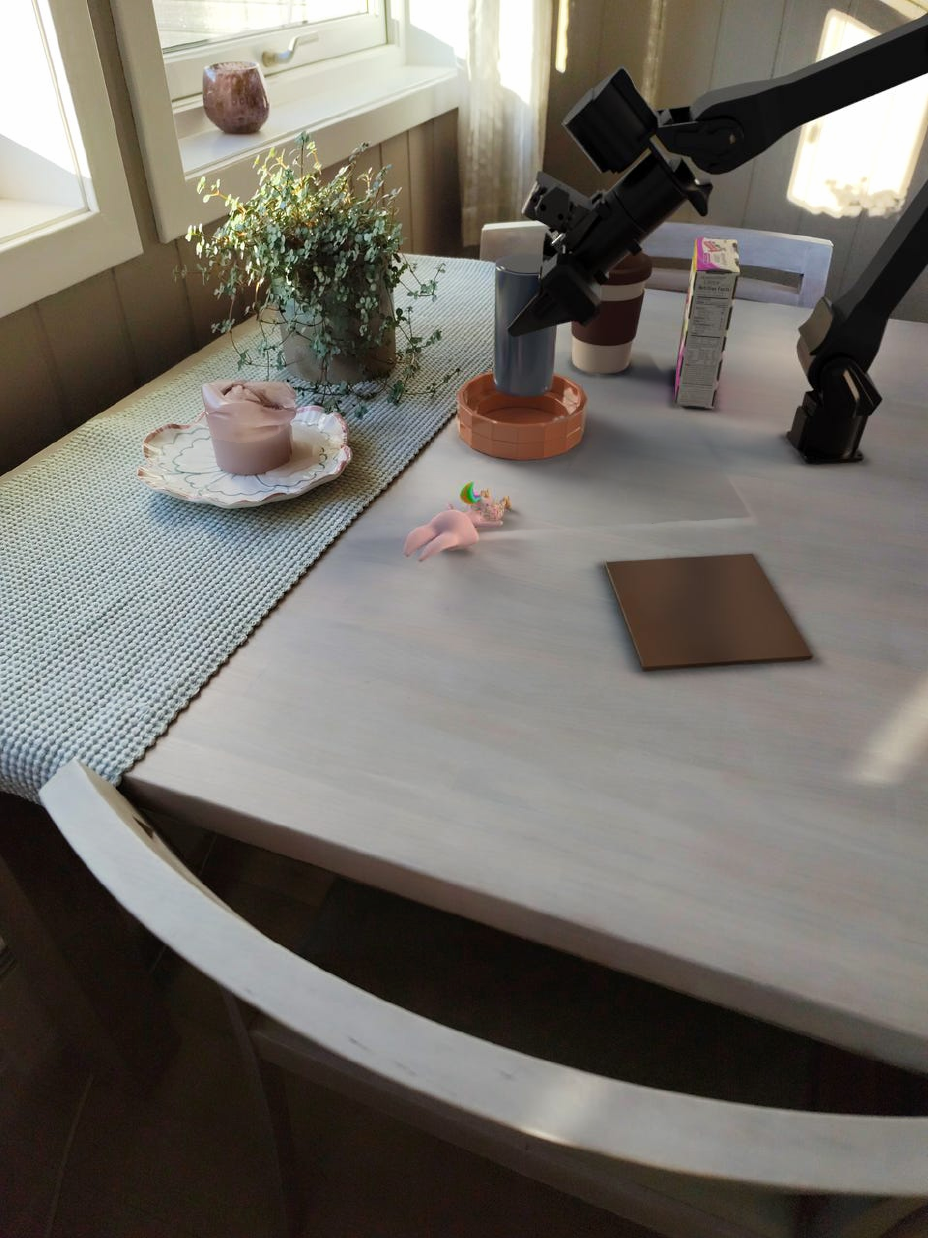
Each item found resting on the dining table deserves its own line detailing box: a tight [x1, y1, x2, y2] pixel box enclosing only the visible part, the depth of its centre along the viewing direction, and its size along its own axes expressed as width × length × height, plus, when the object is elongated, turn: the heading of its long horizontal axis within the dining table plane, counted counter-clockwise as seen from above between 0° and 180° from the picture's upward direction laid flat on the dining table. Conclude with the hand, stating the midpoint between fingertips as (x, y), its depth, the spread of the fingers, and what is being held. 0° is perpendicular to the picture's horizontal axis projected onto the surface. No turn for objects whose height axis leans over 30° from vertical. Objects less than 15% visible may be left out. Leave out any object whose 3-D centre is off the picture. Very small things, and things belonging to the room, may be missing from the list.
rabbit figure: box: [404, 481, 512, 563], centre depth 81 cm, size 6×6×15 cm
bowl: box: [456, 370, 588, 461], centre depth 98 cm, size 14×14×4 cm
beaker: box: [492, 253, 558, 398], centre depth 91 cm, size 7×7×13 cm
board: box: [604, 553, 814, 672], centre depth 75 cm, size 14×14×1 cm
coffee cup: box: [570, 249, 654, 375], centre depth 108 cm, size 10×10×15 cm
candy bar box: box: [674, 236, 741, 410], centre depth 102 cm, size 11×5×16 cm, turn 168°
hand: (512, 320), depth 91 cm, fingers closed on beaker, 6 cm apart
